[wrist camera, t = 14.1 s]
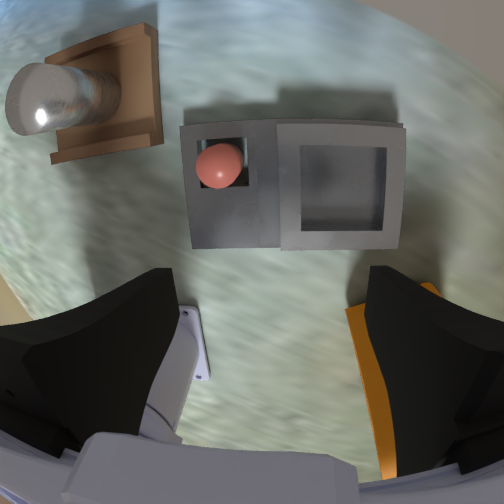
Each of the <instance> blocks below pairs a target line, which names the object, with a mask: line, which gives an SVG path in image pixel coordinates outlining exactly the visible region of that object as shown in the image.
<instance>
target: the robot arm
mask: <svg viewBox="0 0 504 504" xmlns="http://www.w3.org/2000/svg"><path fill="white" fill-rule="evenodd" d="M183 311H186V312H188V314H186V313H184V312H183ZM364 317H365V322H366V327H367V331H368V336H369V339H370V342H371V344H372V347H373V350H374V353H375V356H376V359H377V361H378V364H379V367H380V370H381V373H382V376H383V379H384V382H385V385H386V389H387V393H388V398H389V404H390V409H391V415H392V423H393V430H394V439H395V451H396V469H397V478H391V479H386V480H380V481H373V482H366V483H359V484H358V477H357V470H356V467H355V466H353V465H351V464H349V463H347V462H344V461H342V460H339V459H337V458H335V457H332V456H330V455H328V454H315V453H303V452H293V451H247V450H231V449H219V448H209V447H200V446H192V445H185V444H181V443H182V440H183V439H182V438H181V437H180V436H178V435H176V434H175V432H176V429H177V426H178V423H179V419H180V416H181V413H182V410H183V407H184V404H185V401H186V398H187V394H188V391H189V388H190V385H191V382H192V380H199V381H208V380H209V379H210V371H209V366H208V361H207V356H206V350H205V345H204V340H203V334H202V329H201V323H200V317H199V311H198V309H197V308H196V307H194V306H179V305H178V300H177V295H176V290H175V285H174V279H173V274H172V268H155V269H152V270H150V271H148V272H146V273H144V274H142V275H140V276H138V277H136V278H134V279H133V280H131V281H129V282H127V283H125V284H124V285H122V286H120V287H118V288H116V289H114V290H112V291H111V292H109V293H107V294H105V295H103V296H101V297H99V298H97V299H95V300H93V301H91V302H88V303H86V304H84V305H81V306H79V307H76V308H74V309H71V310H69V311H65V312H62V313H59V314H56V315H53V316H50V317H46V318H43V319H39V320H35V321H30V322H25V323H19V324H12V325H4V326H0V495H2V496H3V497H5V498H6V499H7V500H9V501H10V502H12V503H13V504H504V322H503V321H499V320H496V319H492V318H489V317H486V316H483V315H480V314H477V313H475V312H472V311H470V310H467V309H465V308H463V307H460V306H458V305H456V304H454V303H452V302H450V301H448V300H446V299H444V298H442V297H440V296H438V295H436V294H435V293H433V292H431V291H429V290H428V289H426V288H424V287H423V286H421V285H419V284H418V283H416V282H414V281H413V280H411V279H410V278H408V277H406V276H405V275H403V274H402V273H400V272H398V271H396V270H395V269H393V268H391V267H389V266H370V274H369V282H368V289H367V297H366V303H365V310H364ZM198 375H200V376H198Z"/></svg>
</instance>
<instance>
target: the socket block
mask: <svg viewBox="0 0 504 504" xmlns="http://www.w3.org/2000/svg"><path fill="white" fill-rule="evenodd" d="M179 127H180V140H181V151H182V162H183V172H184V182H185V192H186V201H187V209H188V218H189V226H190V234H191V242H192V249H215V248H281V251H291V250H367V249H398V246H399V238H400V229H401V220H402V209H403V197H404V182H405V161H406V128H403V123H394V122H382V121H368V120H349V119H260V120H241V121H227V122H214V123H204V124H194V125H185V126H179ZM235 137H247V155H248V172H249V183H241V184H230V185H229V186H227V187H224V188H219V189H216V188H211V187H208V186H207V185H204V183H203V182H202V181H201V180H200V179H199V177H198V175H197V172H196V161H197V158H198V156H199V155H200V153H201V152H202V151H201V140H208V139H220V138H235Z"/></svg>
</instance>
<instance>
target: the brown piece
mask: <svg viewBox="0 0 504 504" xmlns="http://www.w3.org/2000/svg"><path fill="white" fill-rule="evenodd" d="M45 64H54V65H62V66H69V67H76V68H83V69H89V70H95V71H101V72H106V73H110V74H112V75H113V76H114V77H116V79H117V80H118V81H119V83H120V86H121V91H122V97H121V103H120V106H119V108H118V110H117V112H116V113H115V114H114V116H113V117H112V118H111V119H109V120H108V121H106V122H104V123H102V124H96V125H88V126H80V127H73V128H66V129H60V130H56V135H57V144H58V152H55V153H51V154H50V158H51V165H53V164H57V163H62V162H66V161H71V160H76V159H80V158H85V157H90V156H96V155H101V154H107V153H112V152H118V151H124V150H131V149H137V148H144V147H151V146H155V145H160V144H164V141H163V130H162V117H161V103H160V87H159V66H158V31H157V30H156V29H154V28H152V27H151V26H149V25H148V24H146V23H140V24H136V25H133V26H129V27H126V28H122V29H119V30H116V31H113V32H110V33H107V34H104V35H101V36H98V37H95V38H92V39H90V40H87V41H84V42H82V43H79V44H76V45H74V46H71V47H69V48H67V49H64V50H62V51H60V52H57V53H55V54H53V55H51V56H48V57H46V58H45Z"/></svg>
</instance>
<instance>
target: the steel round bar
mask: <svg viewBox="0 0 504 504" xmlns="http://www.w3.org/2000/svg"><path fill="white" fill-rule="evenodd" d="M121 97H122V91H121V86H120V83H119V81H118V80H117V79H116V77H114V76H113V75H112V74H110V73H106V72H101V71H95V70H89V69H83V68H76V67H69V66H62V65H54V64H45V63H31V64H28V65H26V66H24V67H23V68H22V69H20V71H19V72H18V73H17V74H16V75H15V77H14V78H13V80H12V82H11V83H10V86H9V88H8V91H7V95H6V102H5V111H6V117H7V121H8V123H9V125H10V127H11V128H12V130H13V131H14V132H16V133H17V134H19V135H24V136H25V135H32V134H37V133H42V132H48V131H54V130H60V129H66V128H73V127H80V126H88V125H96V124H102V123H104V122H106V121H108V120H109V119H111V118H112V117H113V116H114V114H115V113H116V112H117V110H118V108H119V106H120V103H121Z"/></svg>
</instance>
